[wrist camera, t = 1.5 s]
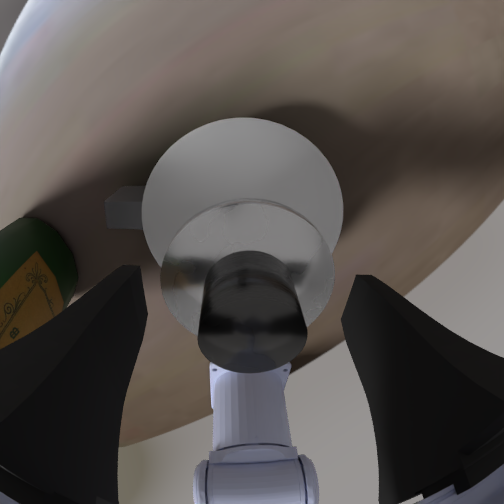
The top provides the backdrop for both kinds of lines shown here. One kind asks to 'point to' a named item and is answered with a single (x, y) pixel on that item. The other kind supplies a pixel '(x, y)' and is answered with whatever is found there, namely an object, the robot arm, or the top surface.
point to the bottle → (32, 277)
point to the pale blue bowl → (230, 180)
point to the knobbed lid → (248, 282)
